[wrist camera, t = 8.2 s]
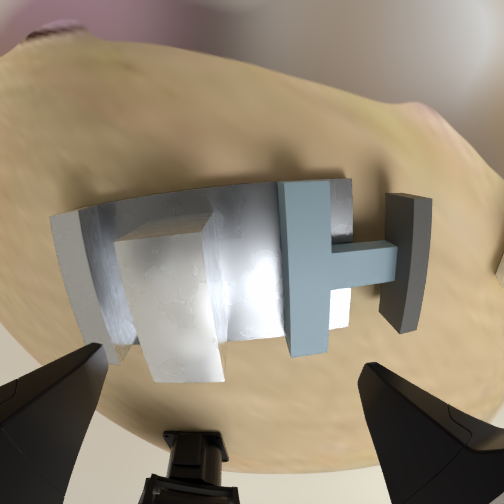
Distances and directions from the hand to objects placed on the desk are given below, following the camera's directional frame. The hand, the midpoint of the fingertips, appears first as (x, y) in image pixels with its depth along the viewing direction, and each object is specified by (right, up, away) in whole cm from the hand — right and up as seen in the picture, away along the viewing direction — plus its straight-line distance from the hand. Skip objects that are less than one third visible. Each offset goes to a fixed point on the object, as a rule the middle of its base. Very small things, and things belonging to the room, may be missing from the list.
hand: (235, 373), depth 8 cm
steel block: (-4, +2, +10) cm, 11 cm away
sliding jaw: (+7, +3, +10) cm, 12 cm away
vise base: (-2, +3, +11) cm, 11 cm away
